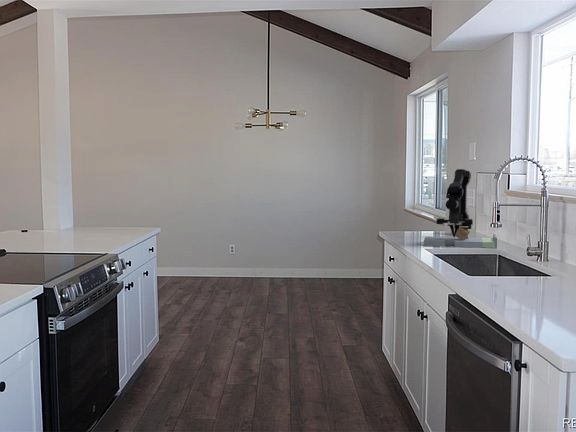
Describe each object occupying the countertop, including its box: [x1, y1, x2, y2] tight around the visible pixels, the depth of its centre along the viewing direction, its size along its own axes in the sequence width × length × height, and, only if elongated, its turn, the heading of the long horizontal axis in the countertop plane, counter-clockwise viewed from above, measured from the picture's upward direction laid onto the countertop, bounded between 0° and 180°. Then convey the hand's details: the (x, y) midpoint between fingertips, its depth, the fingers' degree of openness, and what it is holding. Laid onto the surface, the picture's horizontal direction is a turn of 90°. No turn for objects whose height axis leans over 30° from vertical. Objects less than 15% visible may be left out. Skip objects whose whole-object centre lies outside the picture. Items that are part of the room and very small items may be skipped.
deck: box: [423, 233, 498, 249], centre depth 296 cm, size 18×37×5 cm, turn 72°
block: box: [455, 227, 471, 240], centre depth 293 cm, size 5×5×5 cm
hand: (454, 237), depth 296 cm, fingers closed
